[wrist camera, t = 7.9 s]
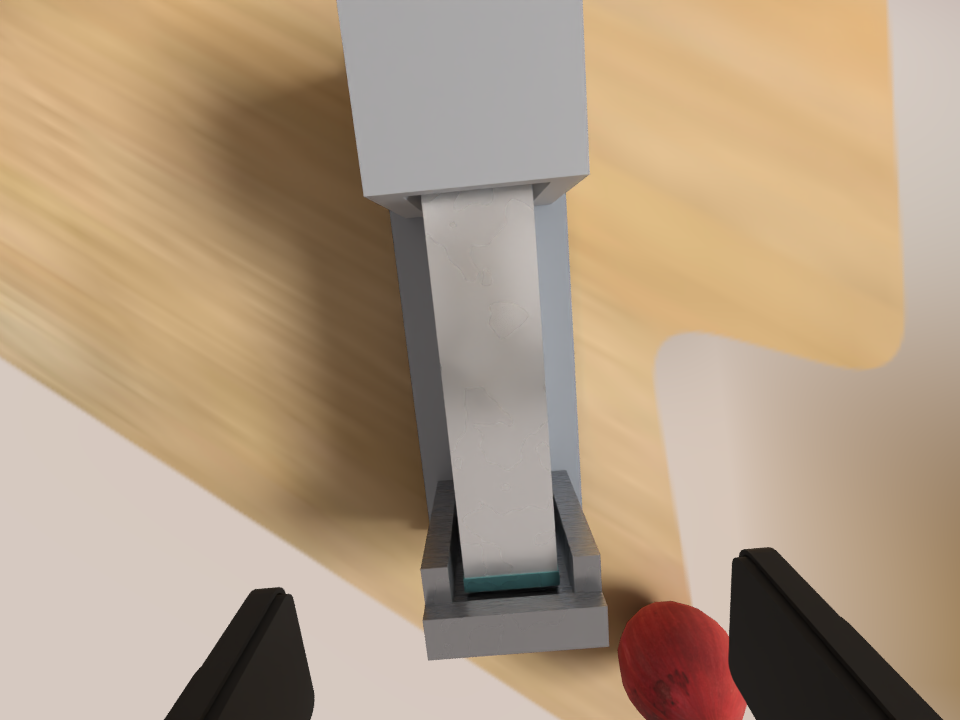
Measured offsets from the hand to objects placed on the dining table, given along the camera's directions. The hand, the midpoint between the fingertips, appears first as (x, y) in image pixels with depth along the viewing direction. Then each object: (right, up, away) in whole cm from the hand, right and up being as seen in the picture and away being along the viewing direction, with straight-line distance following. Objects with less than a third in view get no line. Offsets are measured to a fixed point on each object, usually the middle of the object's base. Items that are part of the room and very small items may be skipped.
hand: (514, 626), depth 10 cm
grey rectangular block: (0, +5, +13) cm, 14 cm away
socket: (+1, -2, +14) cm, 15 cm away
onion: (+9, -9, +17) cm, 22 cm away
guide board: (0, +8, +14) cm, 16 cm away
